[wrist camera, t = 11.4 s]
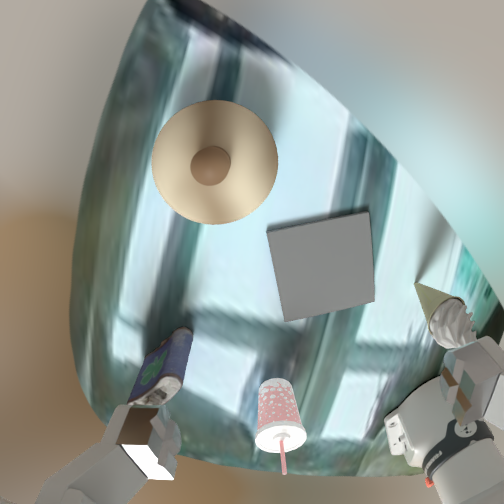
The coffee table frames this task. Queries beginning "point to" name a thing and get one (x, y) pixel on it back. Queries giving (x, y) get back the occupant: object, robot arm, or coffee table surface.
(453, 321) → the ice cream cone
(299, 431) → the beverage cup
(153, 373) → the flask
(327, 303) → the mat
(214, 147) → the lid
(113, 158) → the coffee table surface
